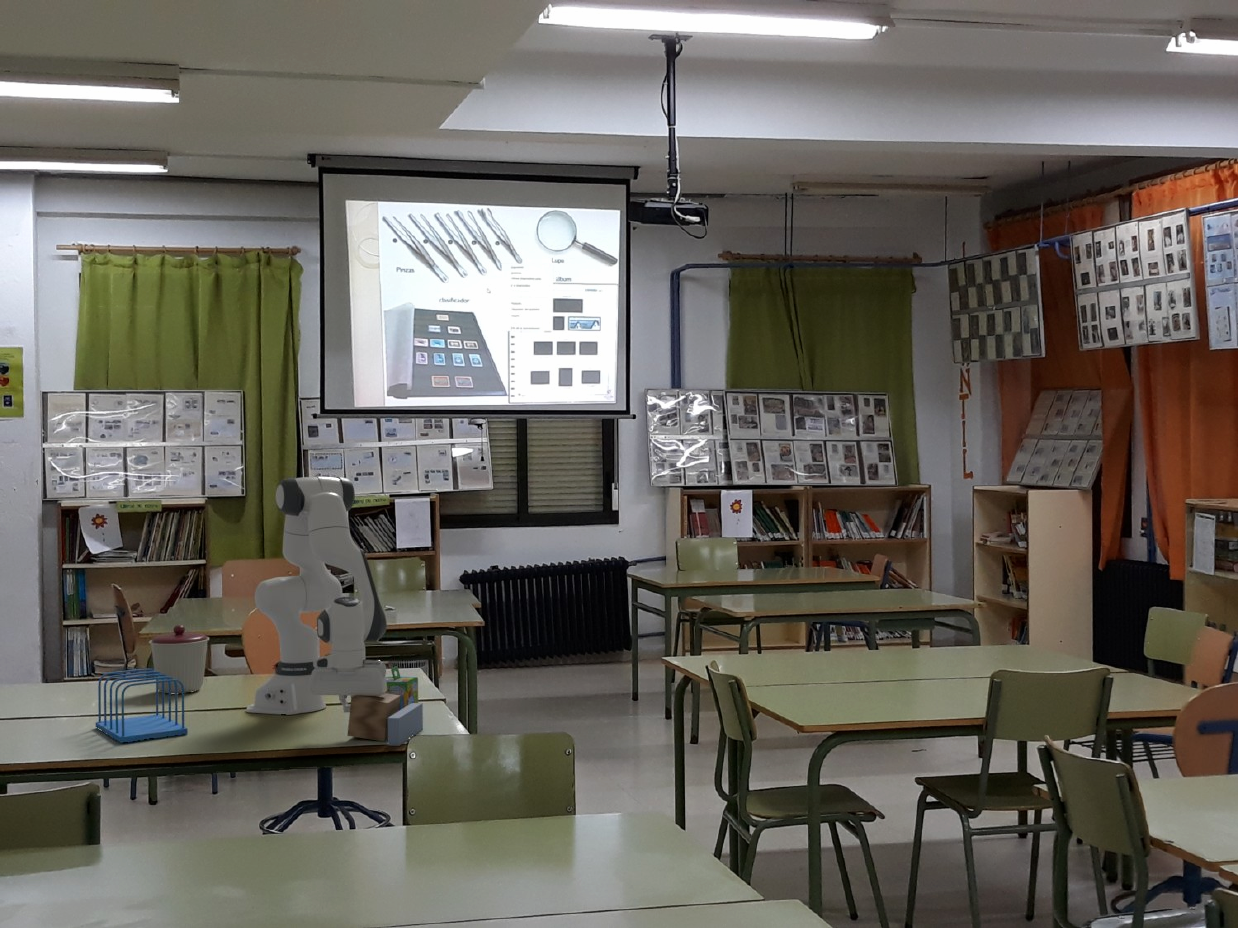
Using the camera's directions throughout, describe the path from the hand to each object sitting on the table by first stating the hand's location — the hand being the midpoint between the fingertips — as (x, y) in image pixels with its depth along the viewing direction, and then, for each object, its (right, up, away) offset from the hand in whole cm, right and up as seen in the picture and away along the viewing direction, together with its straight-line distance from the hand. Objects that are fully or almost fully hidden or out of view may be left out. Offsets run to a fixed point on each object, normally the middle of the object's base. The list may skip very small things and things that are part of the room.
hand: (349, 711), depth 328 cm
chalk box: (+10, -6, +19) cm, 22 cm away
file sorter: (-59, -8, +9) cm, 60 cm away
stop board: (+15, -6, -2) cm, 17 cm away
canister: (-68, -7, +66) cm, 95 cm away
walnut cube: (+6, -6, -1) cm, 8 cm away
